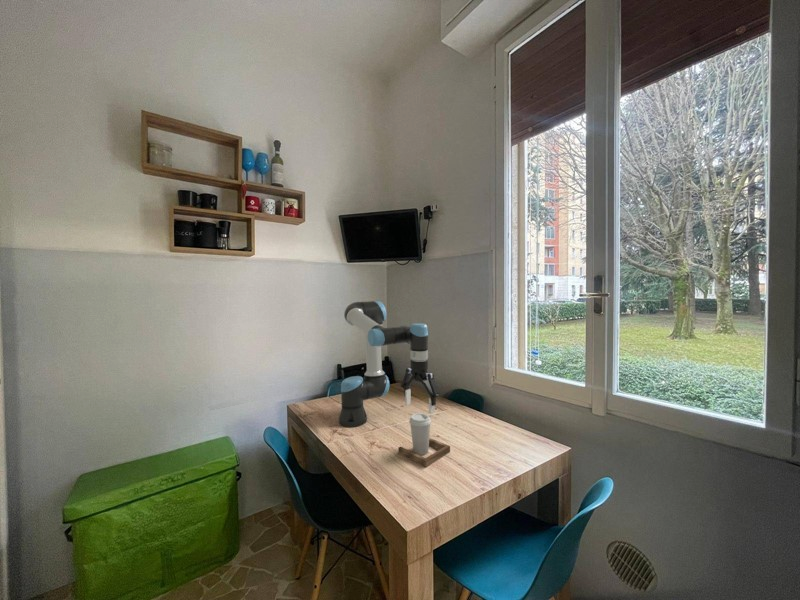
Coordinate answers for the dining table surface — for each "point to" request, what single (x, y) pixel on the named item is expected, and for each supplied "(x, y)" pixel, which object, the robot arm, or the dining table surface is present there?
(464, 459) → the dining table surface
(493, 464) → the dining table surface
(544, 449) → the dining table surface
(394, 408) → the dining table surface
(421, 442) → the coffee cup
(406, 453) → the bracket
